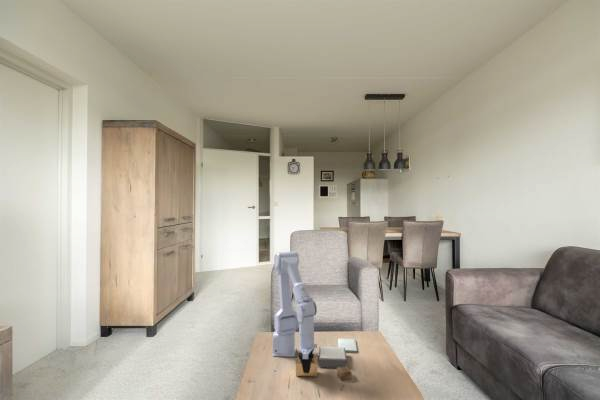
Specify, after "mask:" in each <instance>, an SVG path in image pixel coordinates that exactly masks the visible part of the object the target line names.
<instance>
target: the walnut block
mask: <svg viewBox="0 0 600 400" xmlns="http://www.w3.org/2000/svg"><path fill="white" fill-rule="evenodd" d="M336 375H337V377H338V379H339V380H340V381H341V382H343V381H351V380H352V370H351V369H350V368H349V366H348V365H347V366H344V367H338V368H336Z"/></svg>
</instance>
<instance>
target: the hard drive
mask: <svg viewBox="0 0 600 400" xmlns="http://www.w3.org/2000/svg"><path fill="white" fill-rule="evenodd" d="M337 347H344V348H345V351H346V354H348V353H349V354H358V348H357V341H356V339H355V338H338V339H337Z"/></svg>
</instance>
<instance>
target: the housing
mask: <svg viewBox="0 0 600 400" xmlns="http://www.w3.org/2000/svg"><path fill="white" fill-rule="evenodd" d="M295 376H296V377H318V357H313V359H312V361H311V366H310V372H309V373H304V372H303V368H302V363H301V360H300V359H299V356H296V359H295Z"/></svg>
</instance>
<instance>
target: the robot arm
mask: <svg viewBox="0 0 600 400" xmlns="http://www.w3.org/2000/svg"><path fill="white" fill-rule="evenodd" d="M273 262H274V263H273V264H274V271H276V272H277V276H278V278H277V279H278V290H279V291H278V292H279V306H280V308H279V309H278V311H277V312H276V313H274V319H273V320H274V321H273V327H274V331H273V337H272V357H291V358H293V357H295V356H296V353H297V347H296V346H295V345H296V343H295V341H296V340H295V339H296V338H295V336H296V335H295V333H297V330H298V338H299V339H298V343H299V344H298V348H299V351H300V352H298V357H299V359H300V360H301V363H302V368H303V372H304V373H309V372H310V366H311V361H312V359H313V358H315V357H314V356H315V354H313V353H314V350H315V349H316V348H317V349H318V344H317V343H315V317H314V316H316V315H317V313H318V311H317V309H318V307H317V303H316V301H315V300H314V299H313V297H311V295H310V294H309V290H308V288H307V285H306V284H305V283H303V282H302V278H301V275H300V270H299V264H300V263H299V262H300V255H299V254H298V252H297V251H296V250H294V251H283V252H282V251H281V252H278V251H277V252H275V254H274V256H273ZM290 280H291V282H290ZM291 283H292V285H293V286H292V289H291ZM291 290H292V293H293V297H294V299H295V303H296V309H295V310H294V309H293V308H292V298H291V296H292V295H291Z"/></svg>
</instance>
